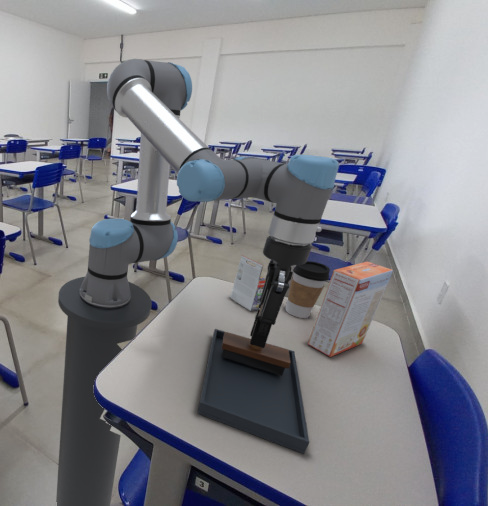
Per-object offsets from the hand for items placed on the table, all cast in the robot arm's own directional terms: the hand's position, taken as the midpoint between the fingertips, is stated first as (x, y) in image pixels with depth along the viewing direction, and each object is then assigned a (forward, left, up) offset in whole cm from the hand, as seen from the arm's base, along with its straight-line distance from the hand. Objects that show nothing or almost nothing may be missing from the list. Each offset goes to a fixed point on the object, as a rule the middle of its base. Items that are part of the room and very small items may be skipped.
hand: (257, 340), depth 76 cm
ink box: (-31, -2, -7) cm, 32 cm away
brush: (0, 0, -5) cm, 5 cm away
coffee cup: (-34, +12, -7) cm, 37 cm away
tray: (+6, 0, -7) cm, 9 cm away
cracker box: (-21, +19, -7) cm, 29 cm away
